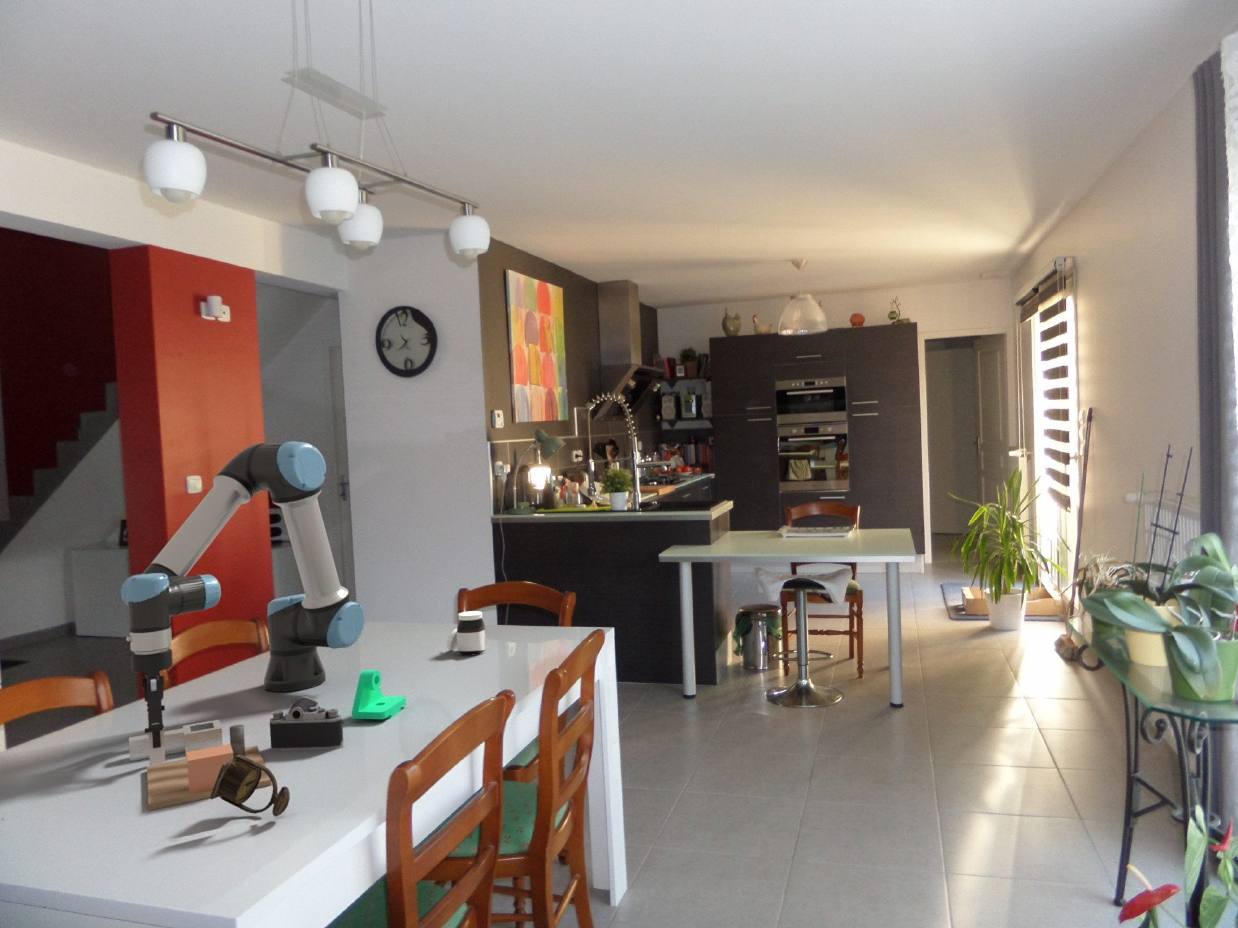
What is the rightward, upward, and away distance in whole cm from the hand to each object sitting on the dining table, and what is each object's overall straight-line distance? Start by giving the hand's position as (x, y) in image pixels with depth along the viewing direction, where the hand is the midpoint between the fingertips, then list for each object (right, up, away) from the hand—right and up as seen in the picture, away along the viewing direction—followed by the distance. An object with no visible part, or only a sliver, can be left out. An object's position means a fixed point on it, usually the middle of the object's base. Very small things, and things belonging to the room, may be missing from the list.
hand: (157, 753), depth 187 cm
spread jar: (+50, +4, +78) cm, 93 cm away
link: (+3, 0, +2) cm, 4 cm away
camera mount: (+40, +2, +21) cm, 46 cm away
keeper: (+20, +1, -20) cm, 29 cm away
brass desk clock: (+33, 0, -32) cm, 46 cm away
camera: (+31, +1, +3) cm, 31 cm away
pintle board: (+17, 0, -15) cm, 22 cm away
